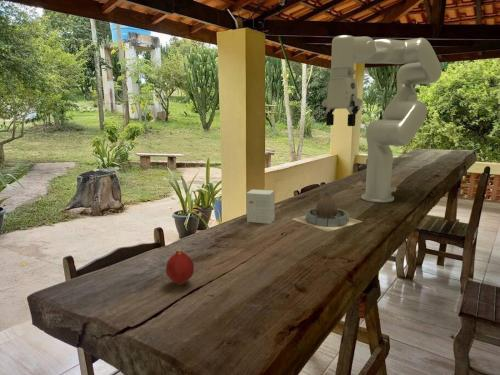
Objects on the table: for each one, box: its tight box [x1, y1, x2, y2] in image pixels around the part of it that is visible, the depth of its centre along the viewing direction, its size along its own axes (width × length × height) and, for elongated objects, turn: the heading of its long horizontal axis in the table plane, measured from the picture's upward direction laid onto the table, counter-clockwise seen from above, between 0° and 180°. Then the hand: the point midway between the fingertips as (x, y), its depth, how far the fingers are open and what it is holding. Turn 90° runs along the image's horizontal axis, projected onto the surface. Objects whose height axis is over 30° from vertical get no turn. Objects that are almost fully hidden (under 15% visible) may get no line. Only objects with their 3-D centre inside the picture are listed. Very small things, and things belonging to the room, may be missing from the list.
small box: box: [245, 189, 276, 225], centre depth 116 cm, size 8×6×10 cm
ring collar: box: [304, 207, 350, 227], centre depth 116 cm, size 13×13×2 cm
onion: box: [165, 249, 195, 286], centre depth 75 cm, size 6×6×8 cm
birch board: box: [292, 215, 363, 233], centre depth 116 cm, size 16×16×1 cm
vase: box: [315, 192, 339, 218], centre depth 115 cm, size 7×7×9 cm
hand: (340, 125), depth 125 cm, fingers open, 9 cm apart
